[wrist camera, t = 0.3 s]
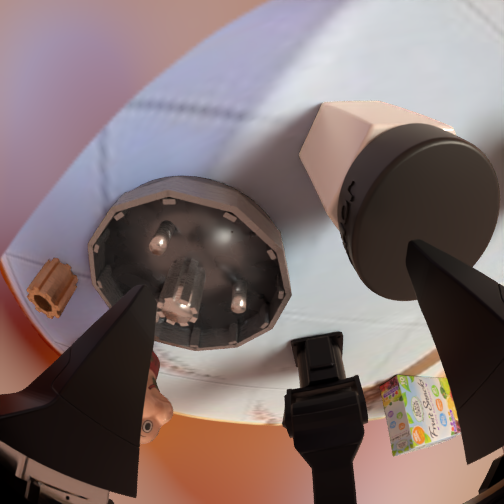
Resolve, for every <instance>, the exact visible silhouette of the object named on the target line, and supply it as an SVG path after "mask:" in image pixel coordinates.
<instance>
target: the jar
mask: <svg viewBox="0 0 504 504" xmlns="http://www.w3.org/2000/svg"><path fill="white" fill-rule="evenodd" d="M299 157H300V159H301V161H302V163H303V165H304V167H305V169H306V171H307V173H308V175H309V177H310V179H311V181H312V183H313V185H314V188H315V190H316V192H317V194H318V196H319V198H320V200H321V202H322V205H323V207H324V209H325V211H326V213H327V215H328V216H329V218H330V219H331V220H332V222H333V223H334V224H335V226H336V227H337V229H338V230H339V231H340V234H341V238H342V241H343V245H344V248H345V250H346V253H347V255H348V257H349V260H350V262H351V264H352V265H353V267H354V269H355V270H356V272H357V274H358V276H359V277H360V279H361V280H362V282H363V283H364V284H365V285H366V286H367V287H368V288H369V289H370V290H371V291H373V292H374V293H376V294H378V295H379V296H382V297H384V298H387V299H391V300H397V301H412V300H417V297H416V294H415V291H414V288H413V285H412V282H411V279H410V276H409V274H408V271H407V268H406V254H407V247H408V243H409V241H411V240H416V239H421V240H423V241H425V242H427V243H429V244H431V245H432V246H434V247H436V248H438V249H440V250H442V251H444V252H446V253H448V254H449V255H451V256H453V257H455V258H457V259H458V260H460V261H462V262H464V263H466V264H467V265H469V266H471V267H473V266H474V265H475V263H476V262H477V261H478V260H479V258H480V257H481V256H482V254H483V252H484V251H485V249H486V247H487V246H488V244H489V242H490V240H491V237H492V235H493V232H494V230H495V227H496V223H497V219H498V215H499V207H500V192H499V185H498V180H497V177H496V174H495V171H494V169H493V166H492V164H491V163H490V161H489V159H488V158H487V157H486V155H485V154H484V153H483V152H482V151H481V150H480V149H479V148H477V147H476V146H475V145H473V144H472V143H470V142H468V141H466V140H464V139H462V138H460V137H458V136H456V133H455V130H454V129H453V127H451V126H449V125H447V124H444V123H442V122H439V121H437V120H434V119H432V118H429V117H427V116H424V115H421V114H419V113H416V112H413V111H410V110H407V109H404V108H401V107H398V106H395V105H391V104H388V103H385V102H381V101H334V102H324V103H322V105H321V107H320V109H319V111H318V113H317V116H316V118H315V120H314V122H313V124H312V127H311V129H310V131H309V133H308V135H307V138H306V140H305V142H304V144H303V146H302V148H301V151H300V153H299Z"/></svg>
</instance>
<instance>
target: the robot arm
mask: <svg viewBox="0 0 504 504" xmlns="http://www.w3.org/2000/svg"><path fill="white" fill-rule="evenodd" d="M406 268H407V271H408V274H409V276H410V279H411V282H412V285H413V288H414V291H415V294H416V297H417V300H418V303H419V306H420V308H421V311H422V313H423V315H424V318H425V320H426V322H427V325H428V327H429V330H430V332H431V335H432V337H433V340H434V343H435V345H436V348H437V351H438V354H439V356H440V359H441V362H442V365H443V368H444V371H445V374H446V377H447V381H448V384H449V387H450V390H451V394H452V397H453V401H454V405H455V409H456V411H457V412H456V413H457V417H458V421H459V426H460V430H461V435H462V439H463V445H464V450H465V456H466V462H467V464H470V463H473V462H475V461H477V460H478V459H481V458H482V457H485V456H486V455H488V454H490V453H492V452H494V451H495V450H497V449H499V448H501V447H502V449H503V453H504V286H502V285H501V284H498V283H497V282H496V281H494V280H493V279H491V278H489V277H488V276H486V275H484V274H483V273H481V272H479V271H478V270H476V269H474V268H473V267H471V266H469V265H467V264H466V263H464V262H462V261H460V260H458V259H457V258H455V257H453V256H451V255H449V254H448V253H446V252H444V251H442V250H440V249H438V248H436V247H434V246H432V245H431V244H429V243H427V242H425V241H423V240H421V239H416V240H411V241H409V243H408V247H407V254H406ZM156 314H157V302H156V300H155V298H154V296H153V295H152V293H151V291H150V289H149V288H148V286H147V285H145V284H143V285H136V286H134V287H133V288H132V289H131V290H130V291H129V292H128V293H127V294H125V295H124V296H123V297H122V298H121V299H120V300H119V301H118V302H117V303H116V304H114V305H113V306H112V307H111V308H110V309H109V310H108V311H107V312H106V313H105V314H104V315H103V316H102V317H100V318H99V319H98V320H97V321H96V322H95V323H94V324H93V325H92V326H91V327H90V328H89V329H88V330H87V331H86V332H85V333H84V334H83V335H82V336H81V337H80V338H78V339H77V340H76V341H75V342H74V343H73V344H72V346H71V347H69V348H68V349H67V350H66V351H65V352H64V353H63V354H62V355H61V356H60V357H59V358H58V359H57V360H56V361H55V362H54V363H53V364H52V365H51V366H50V367H49V368H47V369H46V370H45V371H44V372H43V373H42V374H41V375H40V376H39V377H37V378H36V379H35V380H34V381H33V382H32V383H31V384H30V385H29V386H28V387H26V388H25V389H23V390H22V391H19V392H16V393H11V394H2V395H0V504H114V502H113V501H112V500H111V499H109V492H110V491H111V492H114V493H118V494H121V495H125V496H129V497H133V498H136V496H137V476H138V462H139V447H140V437H141V427H142V419H143V410H144V403H145V395H146V388H147V382H148V375H149V369H150V363H151V357H152V351H153V345H154V337H155V324H156ZM291 345H292V350H293V354H294V359H295V363H296V367H298V370H299V380H300V388H297V389H287V395H285V396H284V398H285V410H284V416H283V422H282V425H283V427H285V428H286V429H287V431H288V434H289V436H290V438H293V440H294V447H295V448H296V450H297V451H298V452H299V453H300V455H301V456H302V457H303V458H304V459H305V461H306V462H307V463H308V464H309V466H310V467H311V468H312V476H313V492H314V504H357V503H356V490H355V481H354V471H353V460H354V458H355V456H356V453H357V451H358V449H359V447H360V445H361V443H362V440H363V436H364V426H363V424H365V423H368V414H367V407H366V402H365V398H364V394H363V390H362V387H361V383H360V380H359V376H358V375H355V376H354V377H350V378H346V375H345V370H344V365H343V361H342V350H343V334H342V332H337V333H332V334H327V335H321V336H316V337H310V338H304V339H298V340H293V341H292V342H291ZM463 504H504V454H503V455H502V456H500V457H498V458H497V459H495V460H494V461H493V462H492V465H491V467H490V469H489V471H488V473H487V475H486V477H485V479H484V481H483V483H482V485H481V487H480V489H479V495H478V496H476V497H474V498H472V499H470V500H469V501H467V502H465V503H463Z"/></svg>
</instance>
